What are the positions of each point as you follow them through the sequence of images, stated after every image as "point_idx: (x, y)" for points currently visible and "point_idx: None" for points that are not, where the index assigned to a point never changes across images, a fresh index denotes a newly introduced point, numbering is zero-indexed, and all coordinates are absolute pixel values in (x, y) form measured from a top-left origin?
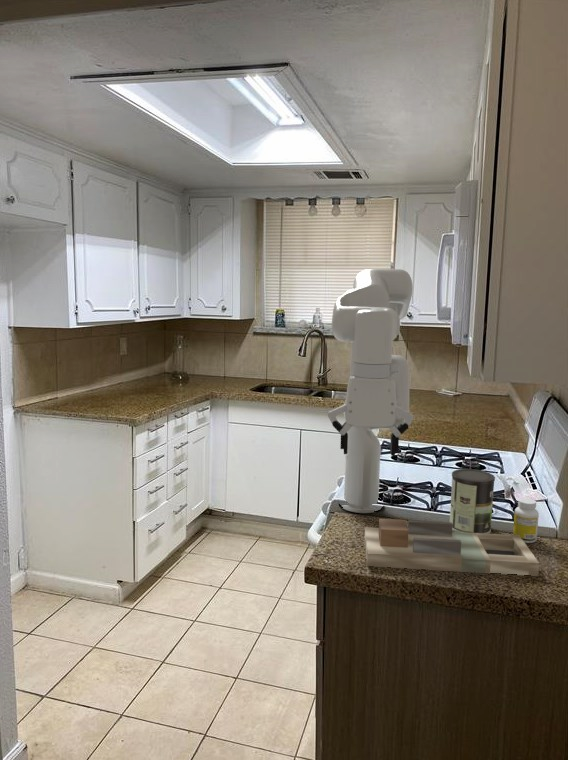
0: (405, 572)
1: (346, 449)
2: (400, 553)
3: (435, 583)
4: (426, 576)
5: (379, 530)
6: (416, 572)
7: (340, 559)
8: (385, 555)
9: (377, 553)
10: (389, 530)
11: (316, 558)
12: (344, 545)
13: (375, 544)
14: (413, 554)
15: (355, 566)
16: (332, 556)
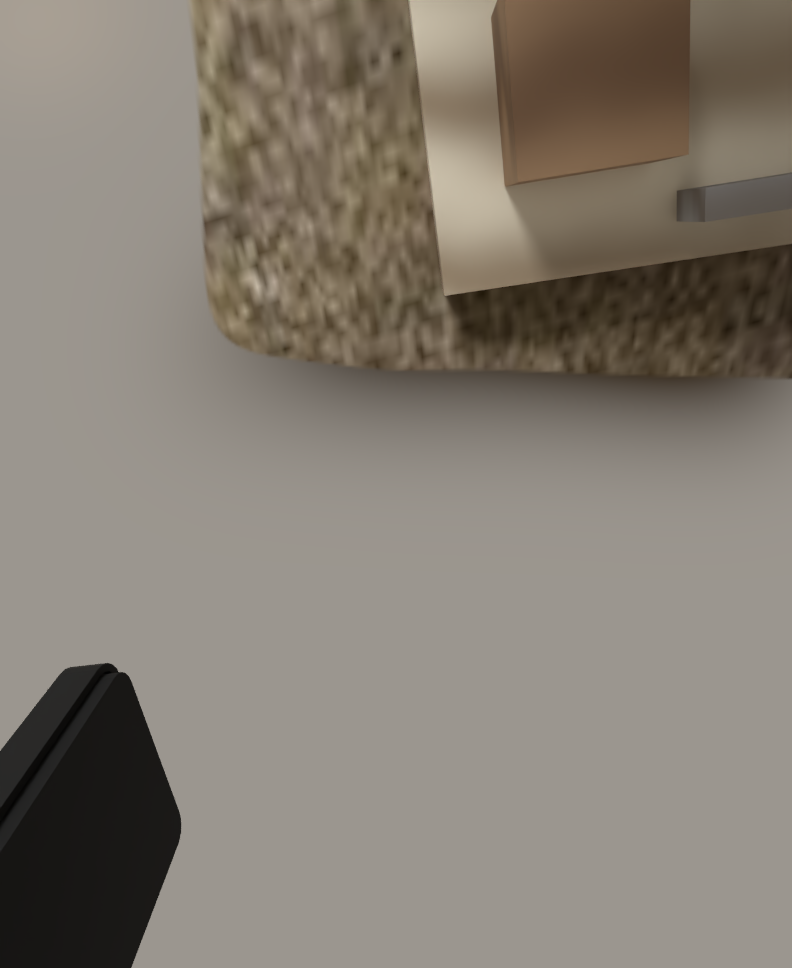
0: (611, 299)
1: (146, 888)
2: (607, 249)
3: (729, 364)
4: (701, 312)
5: (501, 65)
6: (661, 285)
7: (314, 250)
8: (530, 281)
9: (491, 283)
10: (568, 172)
11: (207, 271)
12: (304, 73)
13: (477, 172)
14: (673, 243)
15: (391, 302)
16: (272, 229)
